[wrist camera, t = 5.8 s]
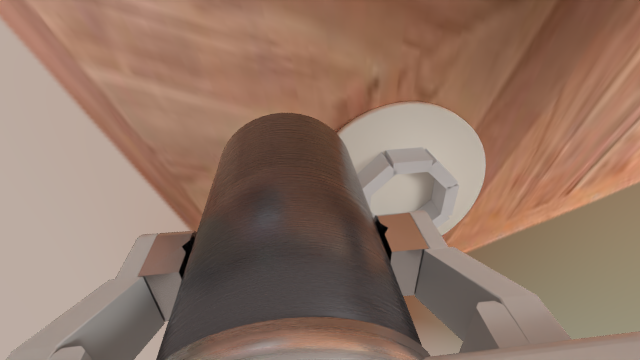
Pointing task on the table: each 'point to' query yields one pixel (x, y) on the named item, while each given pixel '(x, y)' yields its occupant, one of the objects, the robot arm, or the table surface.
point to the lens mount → (416, 161)
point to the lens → (288, 258)
